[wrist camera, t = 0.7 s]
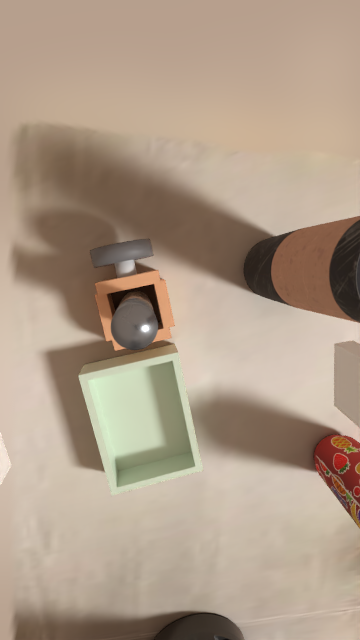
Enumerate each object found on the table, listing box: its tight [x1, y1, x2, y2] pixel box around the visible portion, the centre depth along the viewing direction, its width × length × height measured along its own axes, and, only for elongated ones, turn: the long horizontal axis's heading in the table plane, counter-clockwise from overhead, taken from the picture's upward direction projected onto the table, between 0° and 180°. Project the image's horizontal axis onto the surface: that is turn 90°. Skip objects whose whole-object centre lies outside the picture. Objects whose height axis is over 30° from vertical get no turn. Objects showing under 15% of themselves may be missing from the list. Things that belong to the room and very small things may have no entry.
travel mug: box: [244, 216, 360, 323], centre depth 28 cm, size 8×8×20 cm
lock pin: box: [111, 291, 158, 350], centre depth 30 cm, size 4×4×13 cm
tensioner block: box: [90, 239, 175, 351], centre depth 33 cm, size 10×7×8 cm
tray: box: [78, 344, 203, 495], centre depth 37 cm, size 15×11×4 cm
